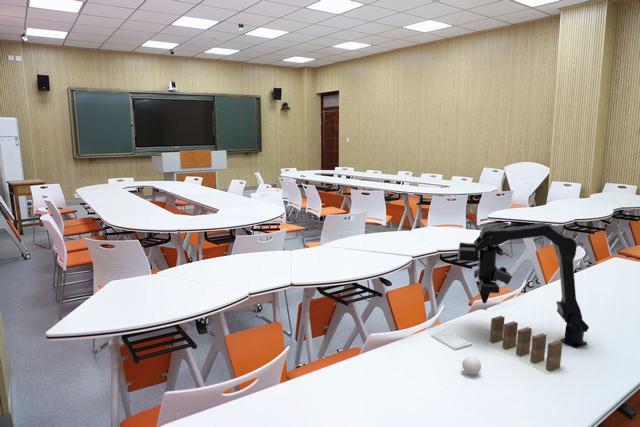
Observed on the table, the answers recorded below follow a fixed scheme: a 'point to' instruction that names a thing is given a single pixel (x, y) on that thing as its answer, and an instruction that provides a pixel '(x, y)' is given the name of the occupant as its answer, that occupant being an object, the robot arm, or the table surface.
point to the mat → (523, 357)
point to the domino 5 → (554, 355)
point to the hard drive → (451, 340)
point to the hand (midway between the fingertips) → (484, 302)
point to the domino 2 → (510, 335)
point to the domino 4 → (538, 348)
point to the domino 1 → (497, 329)
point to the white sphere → (471, 365)
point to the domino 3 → (523, 341)
